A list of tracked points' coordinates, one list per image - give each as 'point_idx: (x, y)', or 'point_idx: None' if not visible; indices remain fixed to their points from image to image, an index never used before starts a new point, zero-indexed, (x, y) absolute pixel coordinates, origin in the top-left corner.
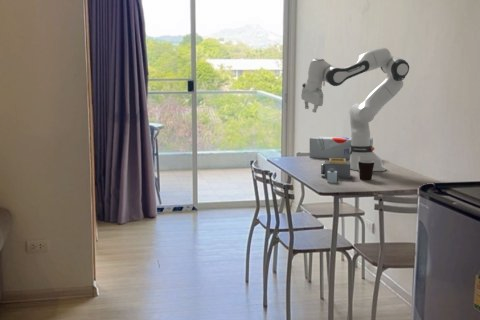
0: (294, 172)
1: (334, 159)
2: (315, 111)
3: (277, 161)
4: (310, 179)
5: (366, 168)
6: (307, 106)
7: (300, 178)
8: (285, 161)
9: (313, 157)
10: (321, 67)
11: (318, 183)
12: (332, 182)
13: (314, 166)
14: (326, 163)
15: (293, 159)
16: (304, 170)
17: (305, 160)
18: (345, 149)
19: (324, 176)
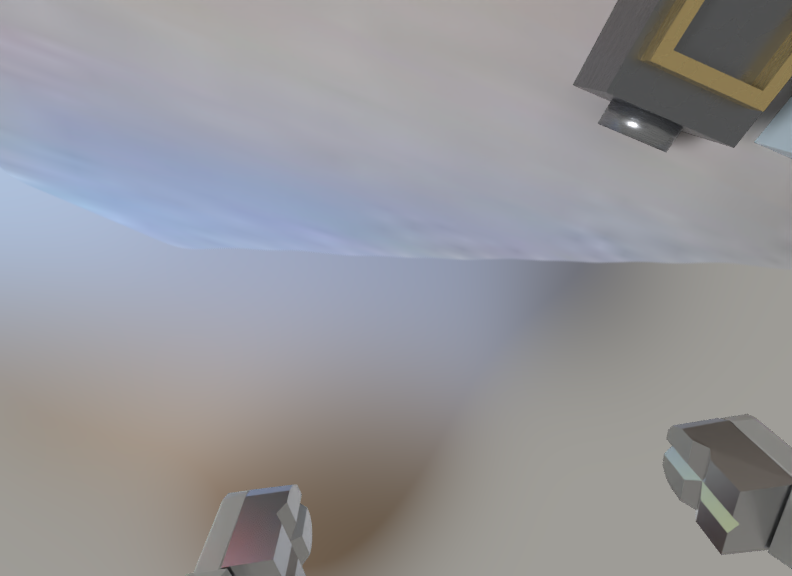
0: (467, 239)
1: (689, 17)
2: (762, 448)
3: (149, 229)
4: (671, 221)
5: None
6: (284, 572)
7: (621, 259)
8: (144, 187)
9: None
10: None
11: (785, 216)
12: None
13: (310, 56)
14: (732, 131)
15: (64, 116)
16: (427, 169)
17: (86, 42)
18: None
19: (682, 131)
